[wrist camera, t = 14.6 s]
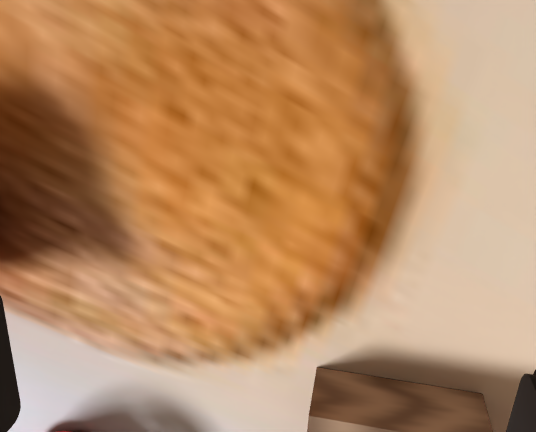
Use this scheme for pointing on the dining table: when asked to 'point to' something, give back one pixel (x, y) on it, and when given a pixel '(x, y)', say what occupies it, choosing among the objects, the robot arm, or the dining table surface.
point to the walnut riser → (391, 406)
